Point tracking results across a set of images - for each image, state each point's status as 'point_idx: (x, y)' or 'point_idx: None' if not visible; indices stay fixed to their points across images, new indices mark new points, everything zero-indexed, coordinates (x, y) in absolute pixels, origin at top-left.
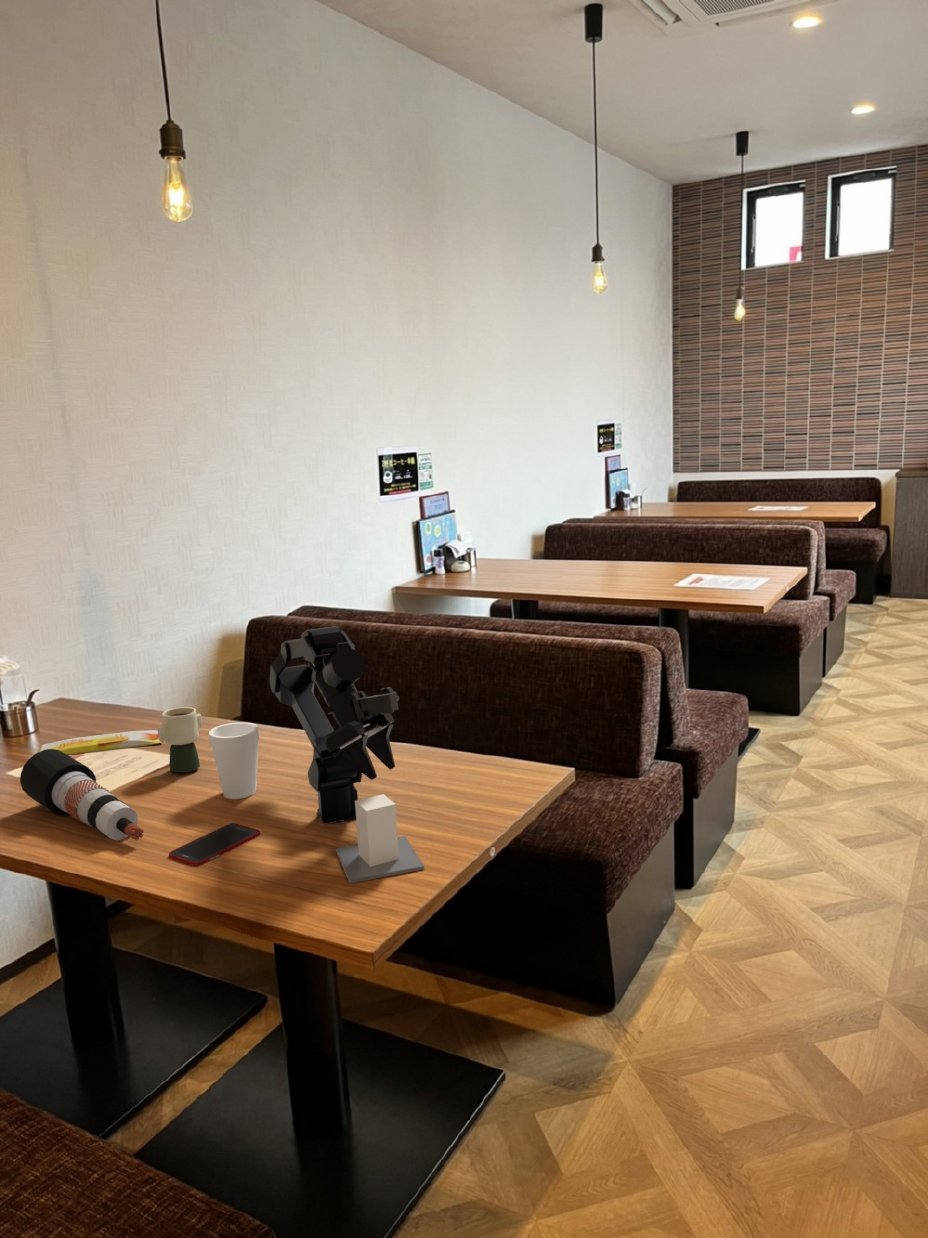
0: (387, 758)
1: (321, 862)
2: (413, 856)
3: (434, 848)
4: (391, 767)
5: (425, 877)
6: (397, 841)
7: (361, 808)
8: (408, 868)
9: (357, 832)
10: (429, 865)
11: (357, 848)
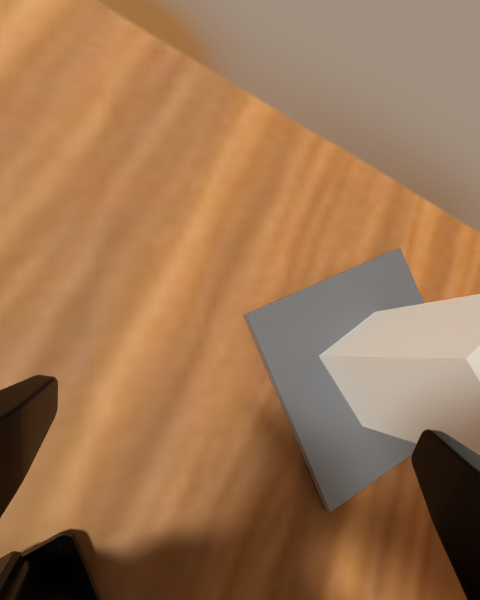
0: (4, 456)
1: (382, 526)
2: (360, 276)
3: (293, 230)
4: (54, 401)
5: (422, 245)
6: (411, 306)
7: None
8: (413, 282)
9: (416, 441)
10: (375, 239)
11: (328, 442)
